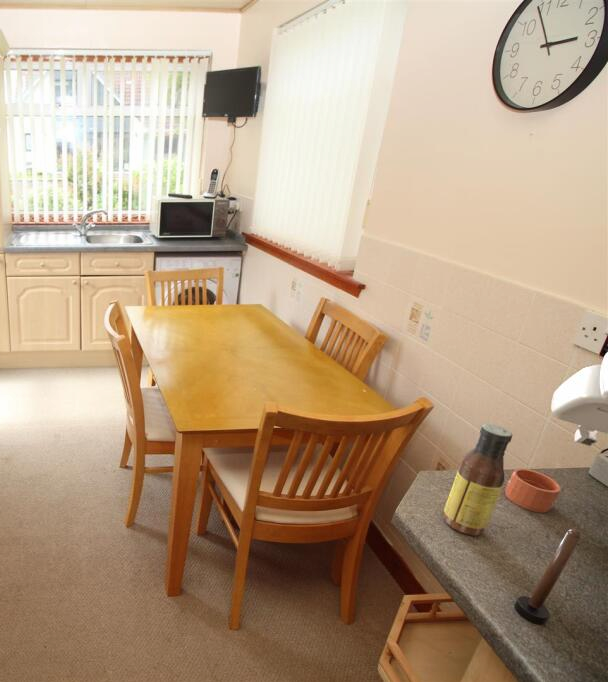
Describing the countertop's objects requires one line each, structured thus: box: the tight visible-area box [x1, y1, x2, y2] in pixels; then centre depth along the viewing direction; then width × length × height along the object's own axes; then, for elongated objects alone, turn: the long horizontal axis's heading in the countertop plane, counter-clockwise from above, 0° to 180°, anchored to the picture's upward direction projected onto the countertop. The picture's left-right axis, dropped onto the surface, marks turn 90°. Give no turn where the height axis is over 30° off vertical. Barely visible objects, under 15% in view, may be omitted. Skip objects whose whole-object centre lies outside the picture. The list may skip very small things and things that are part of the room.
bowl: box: [504, 468, 562, 514], centre depth 92 cm, size 7×7×5 cm
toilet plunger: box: [514, 528, 583, 626], centre depth 66 cm, size 4×4×16 cm
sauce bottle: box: [443, 423, 513, 537], centre depth 82 cm, size 6×6×20 cm
